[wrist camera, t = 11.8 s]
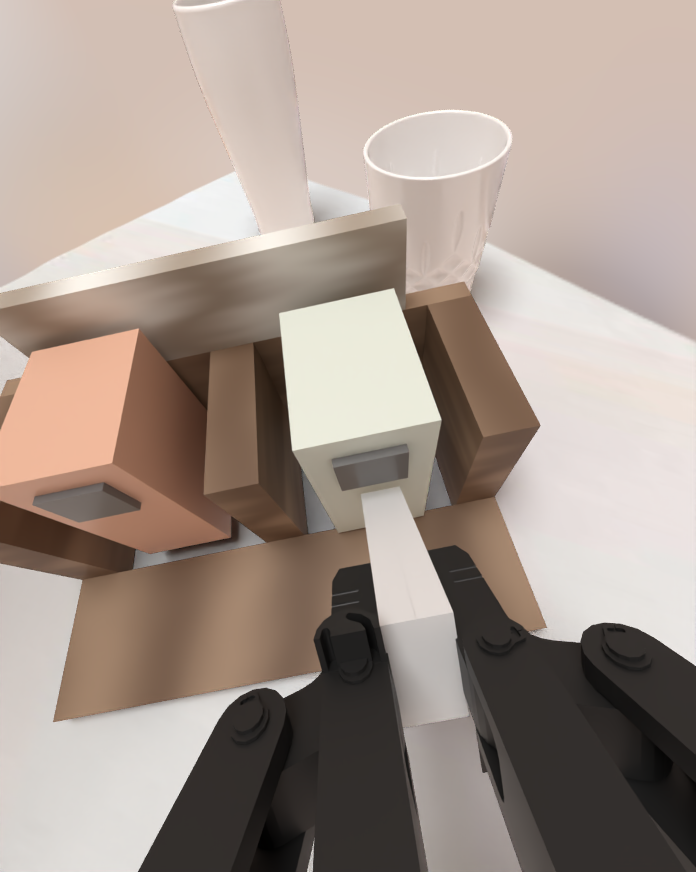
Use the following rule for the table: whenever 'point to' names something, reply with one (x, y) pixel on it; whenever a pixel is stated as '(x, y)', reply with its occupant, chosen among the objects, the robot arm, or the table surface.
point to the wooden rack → (260, 458)
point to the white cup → (440, 188)
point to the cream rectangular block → (358, 404)
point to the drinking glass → (252, 101)
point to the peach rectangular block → (110, 445)
